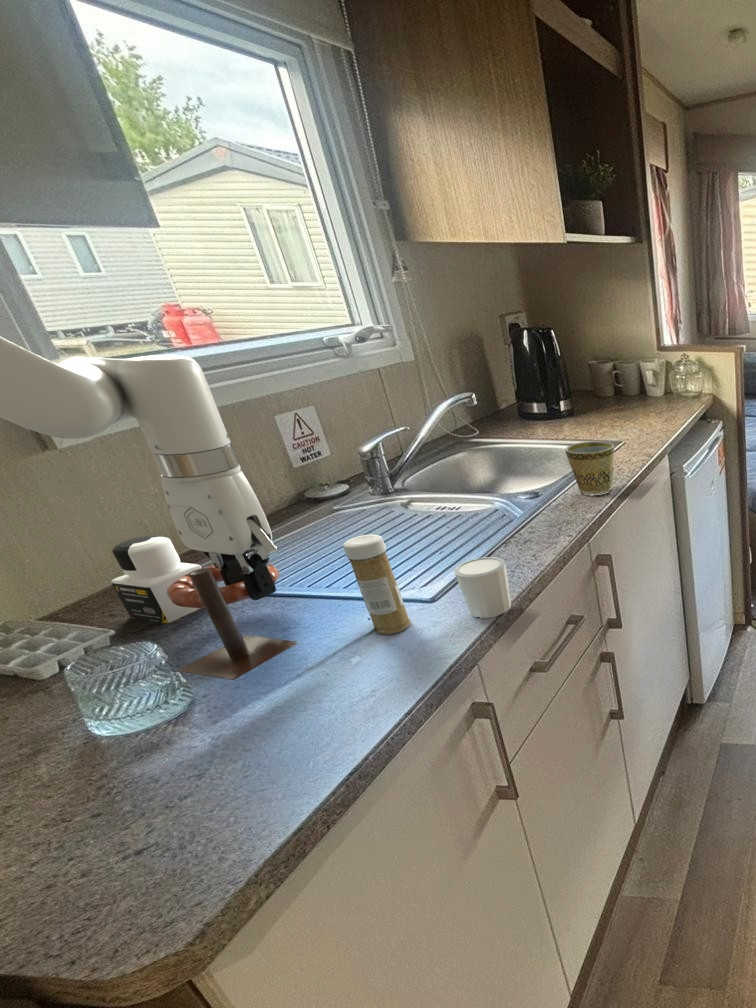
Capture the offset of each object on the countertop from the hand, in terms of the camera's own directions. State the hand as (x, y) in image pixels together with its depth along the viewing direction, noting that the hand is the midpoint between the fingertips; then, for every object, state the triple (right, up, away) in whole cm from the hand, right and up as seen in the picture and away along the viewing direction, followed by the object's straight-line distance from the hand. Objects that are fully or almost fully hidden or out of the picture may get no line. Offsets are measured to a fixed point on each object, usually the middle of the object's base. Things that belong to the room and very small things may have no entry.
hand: (253, 593), depth 90 cm
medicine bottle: (-17, -3, +7) cm, 18 cm away
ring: (-4, +1, +1) cm, 5 cm away
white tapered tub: (+29, -2, +8) cm, 30 cm away
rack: (+3, -9, -5) cm, 11 cm away
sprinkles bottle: (+17, -5, +3) cm, 18 cm away
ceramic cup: (+30, +24, +57) cm, 68 cm away
